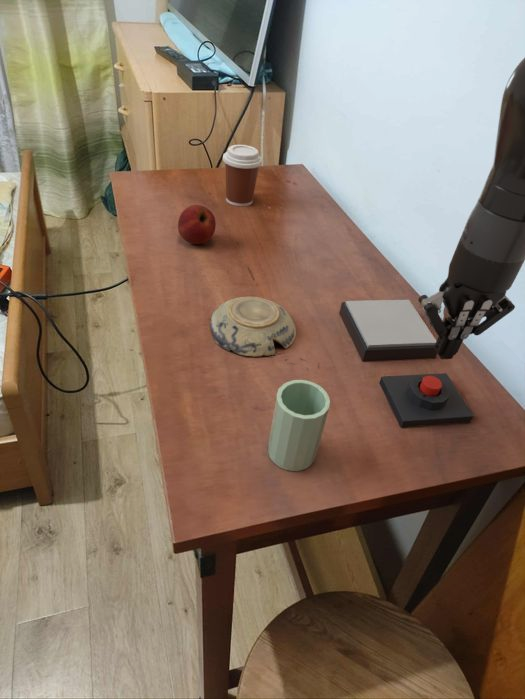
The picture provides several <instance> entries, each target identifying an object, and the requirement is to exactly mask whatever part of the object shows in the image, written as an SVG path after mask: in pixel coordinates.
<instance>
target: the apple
mask: <svg viewBox="0 0 525 699" xmlns="http://www.w3.org/2000/svg"><path fill="white" fill-rule="evenodd" d="M216 224H217V222H216V217H215V215H214V214H213V212H212V211H211V210H210V209H209V208H208V207H206V206H204V205H202V204H193V205H189V206H187V207H185V209H183V211H182V212H181V213H180V215H179V217H178V221H177V230H178V233H179V235H180V236H181V238H182V239H183V240H184V241H185V242H188V243H190V244H193V245H202V244H206V243H208V241H209V240H211V239H212V237H213V236H214V234H215V231H216Z"/></svg>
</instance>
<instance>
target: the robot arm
mask: <svg viewBox="0 0 525 699" xmlns="http://www.w3.org/2000/svg"><path fill="white" fill-rule="evenodd" d="M494 146H495V147H494V157H493V163H492V166H491V168H490V170H489V172H488V176H487V178H486V180H485V183H484V185H483V188H482V190H481V193H480V194H479V197H478V199H477V201H476V203H475V205H474V207H473V208H472V210H471V212H470V214H469V216H468V218H467V220H466V223H465V225H464V228H463V230H462V232H461V235H460V237H459V240H458V243H457V245H456V248H455V250H454V253H453V255H452V258H451V260H450V262H449V265H448V272H447V277H446V278H445V280H444V281H443V282H442V284H440V286H439V289H438V291H437V292H436V293H434V294H432V295H430V296H428V295H427V294H422V295H420V296H419V297H418V300H417V301H418V303H419V305H420V307H421V309H422V311H423V312H424V315H425V317H426V318H427V321H428V322H429V324H430V326H431V327H432V329H433V331H434V332H435V333H436V335H437V336H438V337H437V339H436V343H435V346H434V349H435V351H436V352H437V356H438V357H439V360H452V359H453V358H454V356H456V354H458V352H459V350H460V348H461V346H462V344H463V342H464V340H466V339H468V338H469V336H470V335H472V334H473V335H474V336H480V335H481V334H484V332H486V331H487V330H488V329H490V328H491V327H492V326H494V325H495V324H496V323H498V322H500V320H502V319H504V318H505V317H506V316H508V314H510V313H511V312H513V311H514V310H515V308H516V305H515V304H514V303H513V302H512V300H511V299H510V298H509V297H508V296H506V294H507V291H509V290H510V289H511V288H512V287H513V284H514V282H515V281H516V278H517V276H518V274H519V272H520V271H521V268H522V266H523V265H524V263H525V57H523V59H522V60H521V61H520V62H518V64H517V65H516V67H515V69H513V71H512V73H511V74H510V76H509V78H508V80H507V82H506V85H505V87H504V89H503V93H502V97H501V103H500V110H499V117H498V124H497V132H496V139H495V145H494ZM442 303H443V305H444V307H443V309H442ZM441 309H442V310H441ZM442 311H443V312H442ZM440 313H443V317H442V319H441V317H440ZM483 318H485V319H484V320H483V321H482V319H483Z"/></svg>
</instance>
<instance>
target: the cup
mask: <svg viewBox="0 0 525 699" xmlns="http://www.w3.org/2000/svg"><path fill="white" fill-rule="evenodd" d="M330 405H331V398H330V397H329V394H328V393H327V391H326V390H325V389H324V388H323V387H322V386H320V385H319V384H317V383H315V382H313V381H310V380H305V379H292V380H289V381H287V382H285V383H283V384H282V385H281V386H279V388H278V389H277V393H276V397H275V402H274V409H273V414H272V420H271V425H270V431H269V437H268V443H267V453H268V456H269V459H270V460H271V461H272V462H273V464H275V465H276V466H277V467H279V468H280V469H282V470H286V471H288V472H289V471H290V472H300V471H304V470H306V469H308V468H309V467H310V466H311V465H312V464H313V463H314V462H315V460H316V458H317V453H318V450H319V446H320V443H321V439H322V435H323V432H324V428H325V426H326V421H327V418H328V414H329V410H330Z"/></svg>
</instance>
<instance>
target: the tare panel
mask: <svg viewBox="0 0 525 699" xmlns="http://www.w3.org/2000/svg"><path fill="white" fill-rule="evenodd" d="M425 376H433V377H436V378H438V379H439V380H440V381H441V383H442V387H441V389H440V391H439V393H438V395H436V396H428V395H425V394H424V393H423V392H421V390H420V384H421V382H422V380H423V378H424V377H425ZM378 384H379V386H380V388H381V390H382V392H383V395H384V396H385V398H386V400H387V402H388V404H389V406H390V408H391V410H392V412H393V414H394V417H395V418H396V420H397V423H398V425H399V426H400V428H413V427H414V428H415V427H426V426H427V427H428V426H441V425H453V424H455V425H456V424H468V423H471V422H472V420H473V419H474V417H475V416H474V413H473V412H472V411H471V409H470V408H469V406H468V404H467V403H466V401H465V400H464V398H463V396H462V395H461V393H460V391H459V390H458V389H457V387H456V385H455V384H454V383H453V381H452V380H451V378H450V376H449V375H448V373H447V372H445V373H444V372H443V373H423V374H407V375H405V374H403V375H388V376H387V375H385V376H384V375H383V376H381V377H380V379H379V382H378Z"/></svg>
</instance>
